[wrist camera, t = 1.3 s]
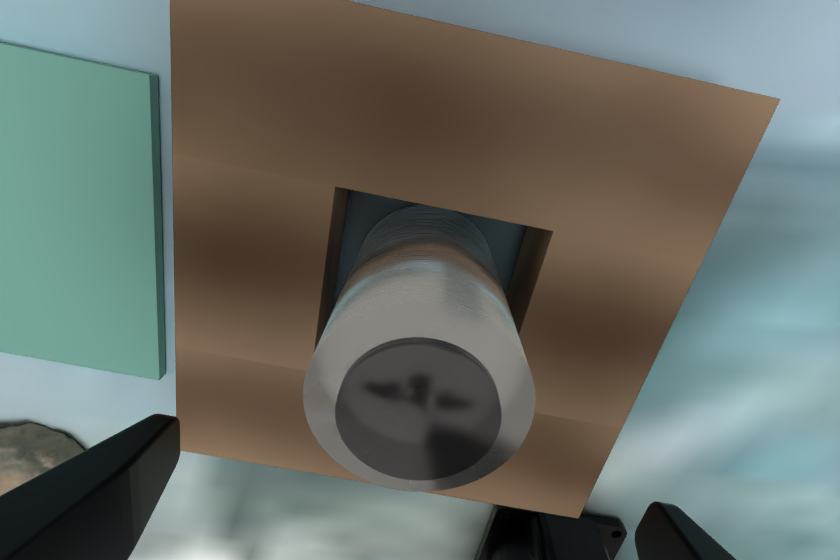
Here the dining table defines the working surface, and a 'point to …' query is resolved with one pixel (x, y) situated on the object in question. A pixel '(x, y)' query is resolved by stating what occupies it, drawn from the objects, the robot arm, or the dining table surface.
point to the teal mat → (80, 213)
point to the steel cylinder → (420, 359)
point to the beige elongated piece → (31, 453)
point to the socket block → (439, 187)
